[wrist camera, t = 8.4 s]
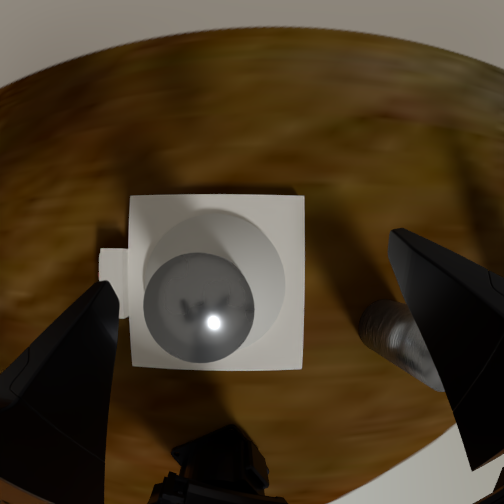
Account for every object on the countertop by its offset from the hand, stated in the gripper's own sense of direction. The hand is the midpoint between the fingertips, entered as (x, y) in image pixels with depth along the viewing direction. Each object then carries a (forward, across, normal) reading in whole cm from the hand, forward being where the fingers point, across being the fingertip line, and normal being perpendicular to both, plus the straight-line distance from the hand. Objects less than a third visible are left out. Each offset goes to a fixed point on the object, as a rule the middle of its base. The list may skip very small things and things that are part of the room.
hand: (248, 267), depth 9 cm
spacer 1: (+9, +3, +8) cm, 13 cm away
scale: (+11, +5, +9) cm, 15 cm away
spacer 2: (+8, -9, +15) cm, 19 cm away
